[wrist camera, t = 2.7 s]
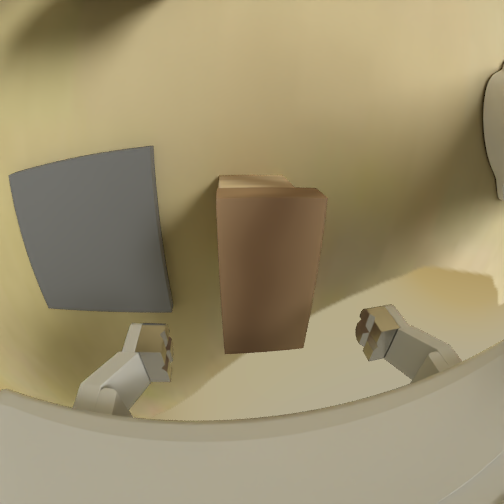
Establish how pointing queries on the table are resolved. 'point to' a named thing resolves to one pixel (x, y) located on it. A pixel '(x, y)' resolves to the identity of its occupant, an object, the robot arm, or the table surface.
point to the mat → (95, 232)
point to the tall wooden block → (267, 260)
